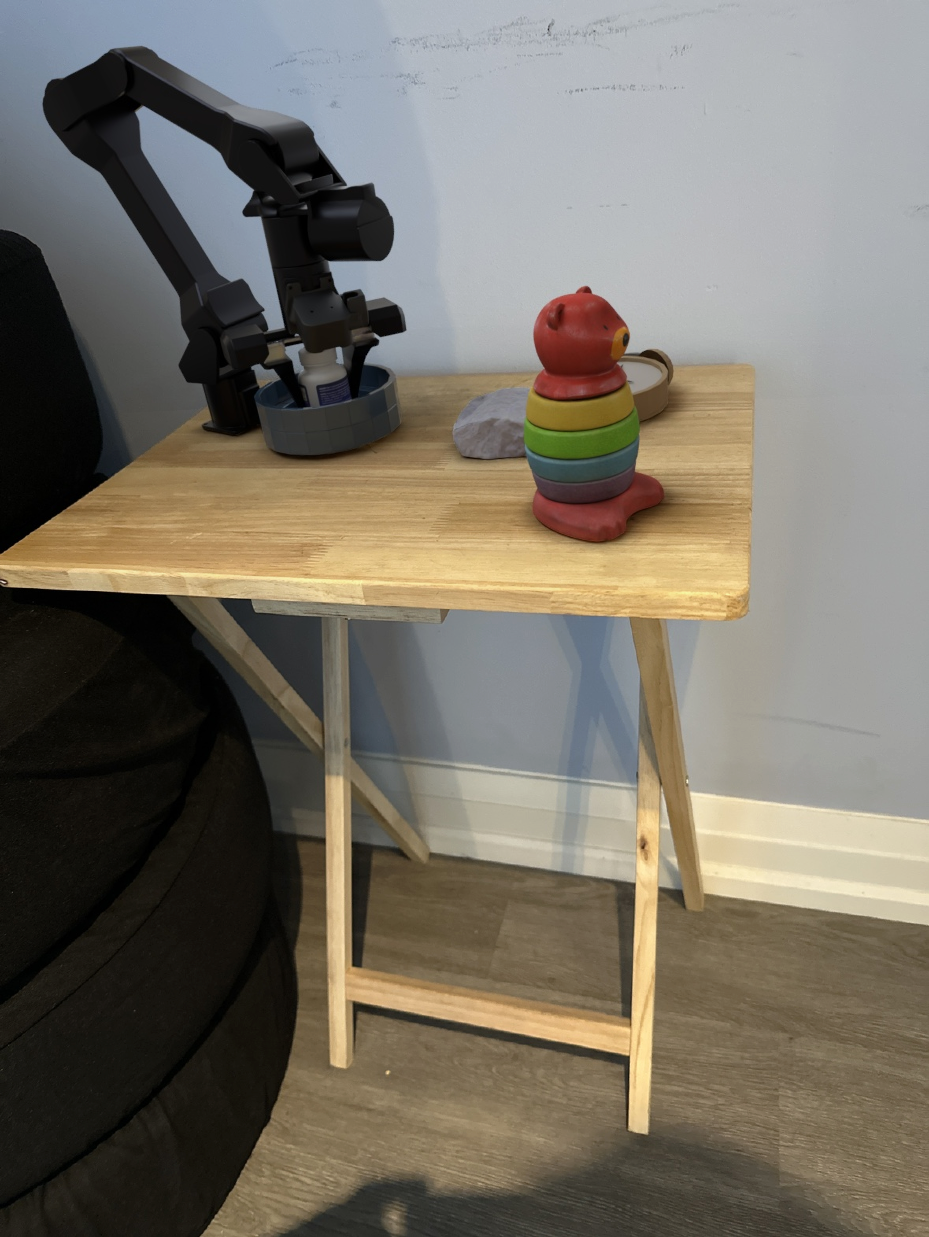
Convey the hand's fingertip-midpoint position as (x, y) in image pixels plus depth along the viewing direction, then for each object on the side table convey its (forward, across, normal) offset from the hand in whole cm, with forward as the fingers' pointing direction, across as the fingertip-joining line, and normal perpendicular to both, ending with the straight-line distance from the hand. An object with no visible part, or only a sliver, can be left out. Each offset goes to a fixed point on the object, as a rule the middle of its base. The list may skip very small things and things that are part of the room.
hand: (329, 410), depth 101 cm
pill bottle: (+2, 0, 0) cm, 2 cm away
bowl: (+3, 0, 0) cm, 3 cm away
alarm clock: (+3, +29, -12) cm, 32 cm away
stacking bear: (+3, +14, -34) cm, 37 cm away
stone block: (+3, +15, -14) cm, 20 cm away
